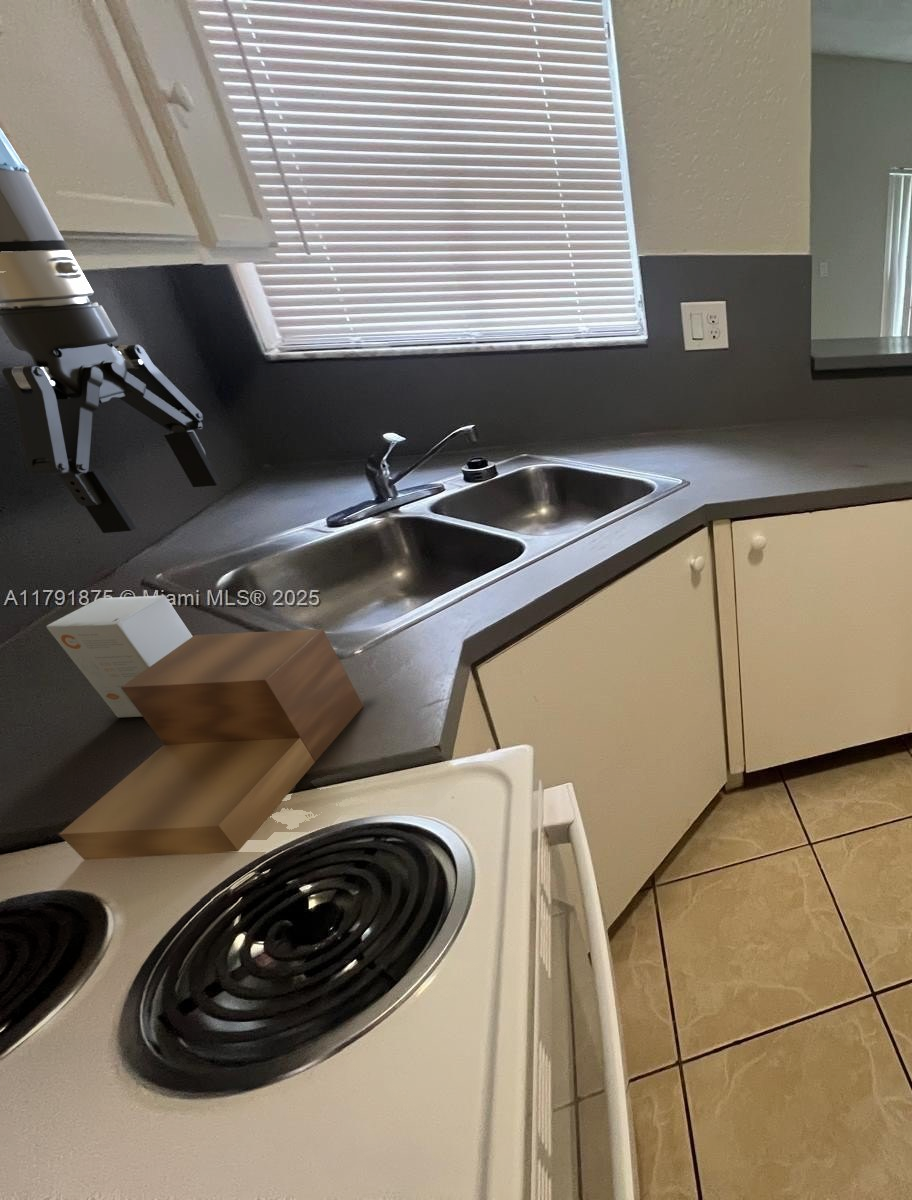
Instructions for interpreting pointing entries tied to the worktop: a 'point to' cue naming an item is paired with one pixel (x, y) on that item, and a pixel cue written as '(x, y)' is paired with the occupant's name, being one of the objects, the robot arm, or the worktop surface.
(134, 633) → the small box
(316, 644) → the shelf stand
